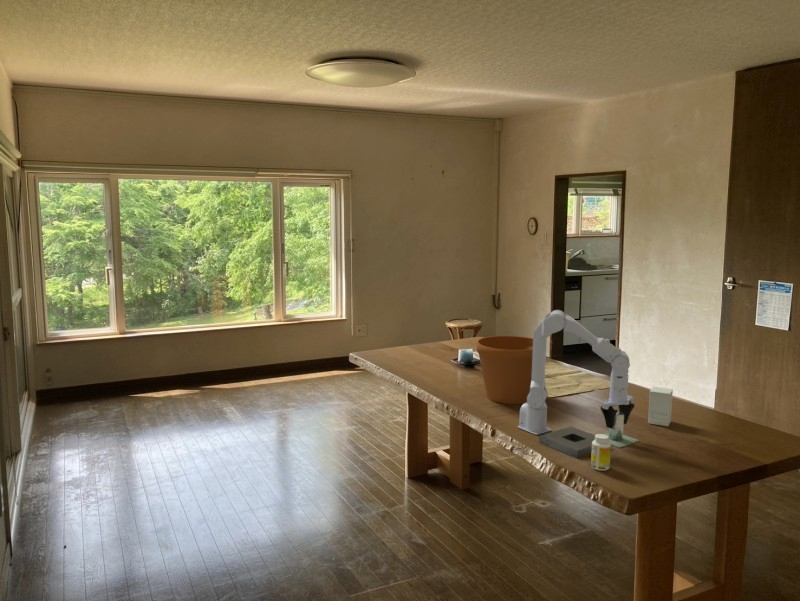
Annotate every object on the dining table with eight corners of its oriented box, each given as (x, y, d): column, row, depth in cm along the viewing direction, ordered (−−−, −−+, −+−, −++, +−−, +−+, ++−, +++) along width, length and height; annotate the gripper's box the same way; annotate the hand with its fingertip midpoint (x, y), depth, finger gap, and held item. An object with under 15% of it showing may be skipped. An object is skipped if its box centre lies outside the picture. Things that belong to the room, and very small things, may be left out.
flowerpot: (548, 392, 271) (551, 339, 267) (534, 411, 245) (536, 353, 242) (486, 384, 282) (488, 333, 279) (466, 401, 257) (467, 346, 254)
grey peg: (606, 438, 217) (607, 413, 215) (614, 435, 219) (615, 410, 218) (617, 442, 213) (618, 416, 212) (625, 439, 216) (626, 414, 214)
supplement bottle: (612, 467, 193) (614, 436, 191) (604, 473, 189) (606, 440, 187) (595, 462, 197) (597, 431, 195) (587, 467, 193) (589, 436, 191)
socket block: (539, 442, 213) (539, 435, 213) (570, 433, 222) (570, 426, 222) (576, 458, 200) (577, 450, 200) (608, 447, 209) (608, 440, 209)
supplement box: (671, 421, 235) (673, 388, 234) (668, 427, 229) (670, 393, 227) (650, 417, 239) (652, 385, 237) (647, 423, 233) (649, 390, 231)
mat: (592, 438, 217) (592, 437, 217) (612, 431, 224) (612, 430, 224) (619, 448, 209) (619, 447, 208) (639, 441, 215) (639, 440, 215)
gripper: (615, 393, 206) (613, 432, 208) (641, 386, 214) (639, 424, 216) (597, 388, 212) (595, 426, 214) (624, 381, 220) (621, 418, 222)
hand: (616, 425), depth 215 cm, fingers open, 7 cm apart
